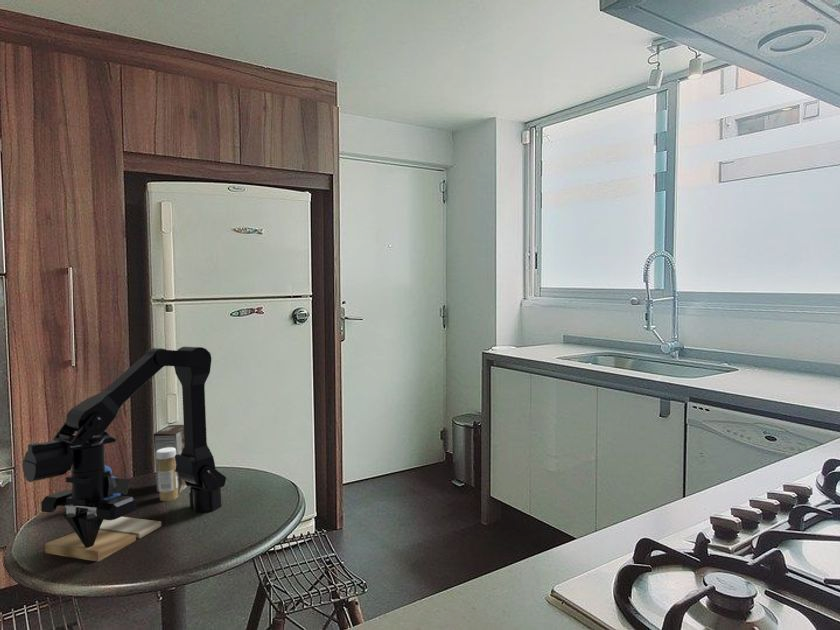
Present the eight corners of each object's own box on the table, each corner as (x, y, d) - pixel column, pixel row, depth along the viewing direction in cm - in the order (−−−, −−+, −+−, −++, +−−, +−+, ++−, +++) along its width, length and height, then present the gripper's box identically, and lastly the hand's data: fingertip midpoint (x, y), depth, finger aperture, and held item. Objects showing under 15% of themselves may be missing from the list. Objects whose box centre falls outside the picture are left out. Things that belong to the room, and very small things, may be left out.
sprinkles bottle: (182, 498, 139) (179, 446, 138) (171, 505, 134) (168, 452, 134) (166, 498, 140) (163, 446, 139) (155, 505, 135) (151, 451, 135)
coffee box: (172, 481, 152) (169, 424, 151) (195, 480, 152) (192, 423, 151) (155, 493, 143) (152, 433, 142) (179, 493, 143) (176, 432, 142)
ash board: (161, 530, 120) (161, 521, 120) (139, 542, 115) (139, 533, 114) (112, 524, 125) (112, 515, 125) (89, 535, 119) (89, 526, 119)
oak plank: (135, 545, 114) (135, 535, 114) (98, 562, 105) (98, 551, 105) (85, 537, 118) (85, 528, 118) (45, 553, 109) (45, 543, 109)
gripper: (157, 461, 113) (158, 536, 113) (88, 455, 118) (89, 527, 118) (111, 476, 102) (112, 559, 102) (38, 469, 108) (39, 548, 108)
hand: (89, 547), depth 108 cm, fingers closed, pressing on oak plank
